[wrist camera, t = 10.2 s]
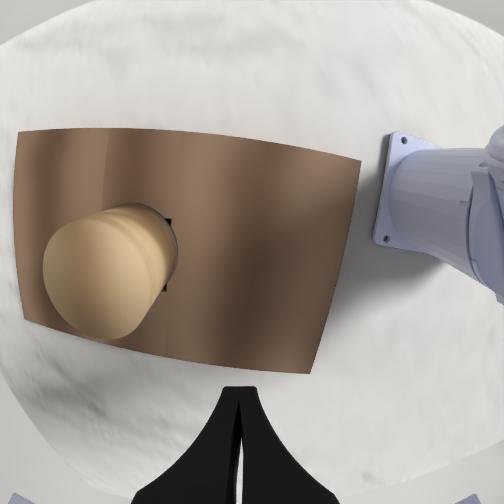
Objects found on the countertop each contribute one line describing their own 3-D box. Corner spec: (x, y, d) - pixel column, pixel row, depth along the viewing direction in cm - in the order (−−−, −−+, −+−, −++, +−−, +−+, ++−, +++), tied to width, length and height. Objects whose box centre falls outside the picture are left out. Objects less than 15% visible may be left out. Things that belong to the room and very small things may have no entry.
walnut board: (344, 161, 18) (361, 161, 15) (302, 350, 22) (309, 373, 19) (42, 133, 17) (18, 132, 14) (43, 303, 20) (24, 319, 18)
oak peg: (191, 203, 18) (153, 228, 10) (183, 284, 20) (149, 351, 12) (112, 193, 18) (39, 213, 10) (109, 271, 19) (49, 325, 12)
